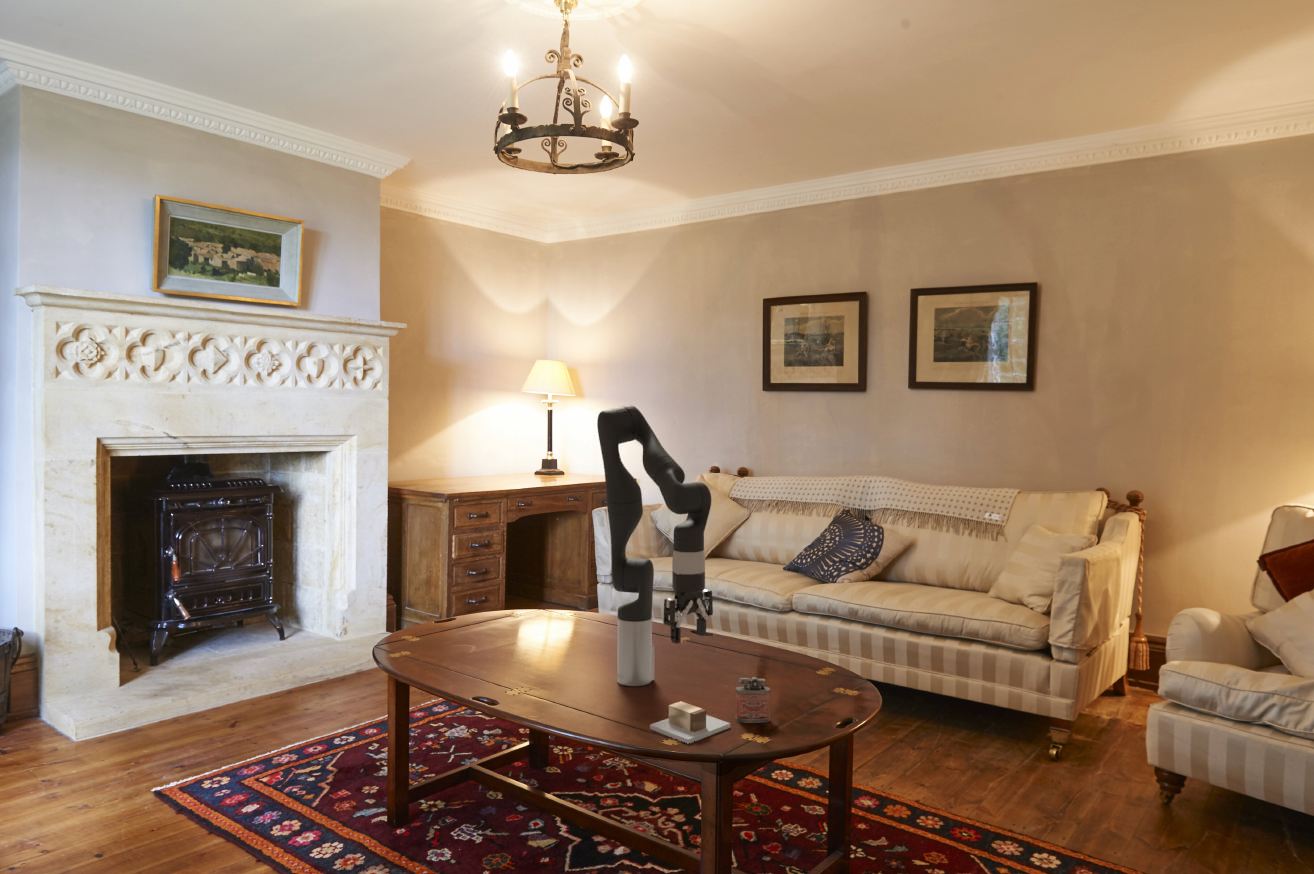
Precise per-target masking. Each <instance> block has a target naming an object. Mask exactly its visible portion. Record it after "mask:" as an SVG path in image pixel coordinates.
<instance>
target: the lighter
mask: <svg viewBox="0 0 1314 874" xmlns="http://www.w3.org/2000/svg"><path fill="white" fill-rule="evenodd" d="M738 685H740V686H736V687H735V693H736V699H735V701H736V709H735V710H736V711H735V712H736V713H735V721H736V722H737V723H746V724H748V723H751V724H756V723H759V724H760V723H768V722H770V720H771V716H770V693H771V688H770V687H768V686H765V685H766V679H765V678H757V677H756V676H752V677H751V678H749V677H741V678H739V679H738ZM742 685H743V686H742Z"/></svg>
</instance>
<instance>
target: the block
mask: <svg viewBox="0 0 1314 874" xmlns="http://www.w3.org/2000/svg"><path fill="white" fill-rule="evenodd" d="M706 715H707V709H705V708H701V707H698V706H696V705H693V704H689V703H687V702H684V701H681V700H680V701H678V702H674V703H671V704H669V705H668V718H669V723H671V724H674V725H676V726H679V727H681V728H684V729H687V730H689V731H692V732H696V731H699V730H701V729H704V728H706Z"/></svg>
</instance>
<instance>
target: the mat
mask: <svg viewBox="0 0 1314 874" xmlns="http://www.w3.org/2000/svg"><path fill="white" fill-rule="evenodd" d="M649 729H650V730H651V731H653V732H657V733H659V734H661V735H664V736H667V737H669V738H671V737H672V738H671V739H674V740H676V739H677V740H676V741H679V742H681V741H682V742H681V743H684V742H685V743H684V744H686V743H687V745H689V743H690V744H692V743H694V741H695V742H697V741H700V740H702V739H704V738H707V737H710V736H712V735H713V736H714V735H715V734H717V733H720V732H723V731H725V730H728V729H731V723H730V722H727V721H725V720H722V719H720V718H719V719H718V718H717V717H715V716H714V717H713V716H711V715H708V714H706V728H704V729H701V730H699V731H696V732H692V731H689V730H687V729H684V728H681V727H679V726H676V725H674V724H671V723H669V717H667V718H665V719H663V720H659V721H657V722H653V723H651V724H649Z"/></svg>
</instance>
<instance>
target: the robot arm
mask: <svg viewBox="0 0 1314 874" xmlns="http://www.w3.org/2000/svg"><path fill="white" fill-rule="evenodd" d="M596 421H597V422H596V423H597V425H596V427H597V433H598V440H599V441H598V442H599V447H600V452H601V457H602V463H603V469H604V480H605V492H606V493H605V494H606V497H605V498H606V507H607V515H608V525H609V532H610V546H611V547H610V550H611V551H610V553H611V554H610V555H611V559H610V561H611V562H610V563H611V582H612V585H613V588H614V590H616V591H617V592H621V593H632V594H633V593H634V594H638V597H637V599H636V600H633V601H631V602H627V603H625V604H622V605H619V607H618V608H617V649H616V650H617V654H616V655H617V656H616V657H617V665H616V666H617V668H616V669H617V671H616V672H617V673H616V674H617V680H616V681H617V683H618V684H619V685H621V686H628V687H641V686H646V685H648V684H651V682H652V681H654V680H655V644H654V643H653V641H652V639H653V637H652V635H653V631H652V630H653V619H652V617H653V598H654V597H653V594H654V593H653V592H654V576H655V575H654V574H655V572H654V564H653V561H652V560H651V559H650V558H640V557H627V556H626V550H627V545H628V543H629V540H630V538H631V537H632V535H633V533H634V532H635V529H637V527H638V525H639V523H640V521H641V519H642V517H643V512H644V510H643V509H644V508H643V506H644V505H643V497H642V495H643V494H642V489H641V486H640V484H639V483H638V482H637V480H636V479H635V477H634V476H633V475H632V474H631V473H630V471H629V470H628V469H627V468H626V467H625V464H623V461H622V459H621V455H620V448H619V447H620V446H619V445H620V444H624V443H628V442H633V441H637V442H638V443H639V444H640V445H641V446H642V465H643V469H644V470H645V473H646V474H647V475H648V477H649V478H650V479H651V480H652V481H653V482H654V484H656V486H657V487H658V488H659V492H660V494H661V495H662V498H663V501H664V503H665V506H666V507H667V508H668V510H669V511H671V512H672V513H674V514H676V515H687V517H686V519H685V521H683V522H681V523H679V524H676V525H675V527H674V528H673V537H672V538H673V541H672V543H673V553H672V561H671V563H672V564H671V565H672V567H671V568H672V573H671V574H672V575H671V576H672V578H671V579H672V583H671V584H672V587H671V588H672V590H673V591H674V597H673V598H668V597H665V598H664V600H663V620H662V621H663V625H665V626H669V627H670V641H671V642H672V643H673V644H676V645H678V644H680V643H681V633H682V632H681V630H682V629H681V624H682V623H683V620H685V619H686V617H687V616H688V615H691V614H695V616H696V617H697V618H696V635H698V636H701V637H704V636H706V635H707V634H706V633H707V632H706V631H707V620H708V618H709V617H710V616H713V613H714V609H713V608H714V607H713V606H714V604H713V591H712V590H709V589H706V558H705V530H706V526H707V522H708V519H709V515H710V511H711V508H712V494H711V491H710V488H709V486H708V485H706V484H705V483H703V482H700V481H699V482H698V481H696V482H685V479H686V474H685V471H684V469H683V468H682V467H681V466H680V465H679V464H678V463H677V461H675V459H674V458H673V457H672V456H671V455H670V454H669V453H668V452H667V450H666V449H665V448H664V446H663V445H662V444H661V442H660V440H659V439H658V437H657V436H656V434H655V432H654V431H653V429H652V428H651V425H650V424H649V422H648V421H647V419H646V417H645V416H644V414H642V412H641V411H640V409H638V408H637V406H634V405H631V404H628V405H622V406H617V407H613V408H608V409H605V410H604V409H603V410H601V411H600V412H599V414H598V415H597V420H596Z"/></svg>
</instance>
